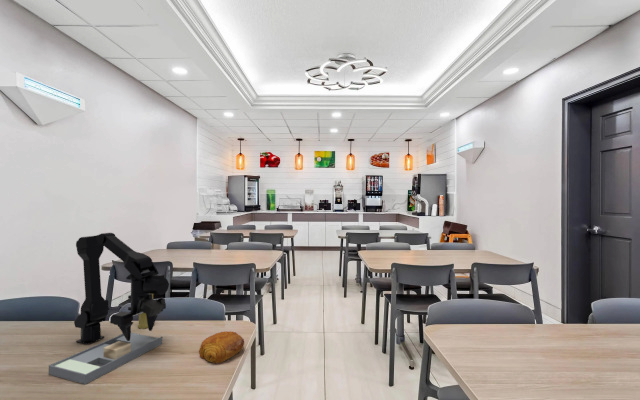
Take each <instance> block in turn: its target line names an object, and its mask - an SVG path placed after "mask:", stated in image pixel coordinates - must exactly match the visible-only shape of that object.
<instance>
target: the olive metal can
mask: <svg viewBox="0 0 640 400" xmlns="http://www.w3.org/2000/svg"><path fill="white" fill-rule="evenodd" d="M152 298H153V299H154V294H152ZM137 328H138V329H140V330H141V329H142V330H145V329H148V324H147V317H146V313H142V314H139V315H138V322H137Z"/></svg>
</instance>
